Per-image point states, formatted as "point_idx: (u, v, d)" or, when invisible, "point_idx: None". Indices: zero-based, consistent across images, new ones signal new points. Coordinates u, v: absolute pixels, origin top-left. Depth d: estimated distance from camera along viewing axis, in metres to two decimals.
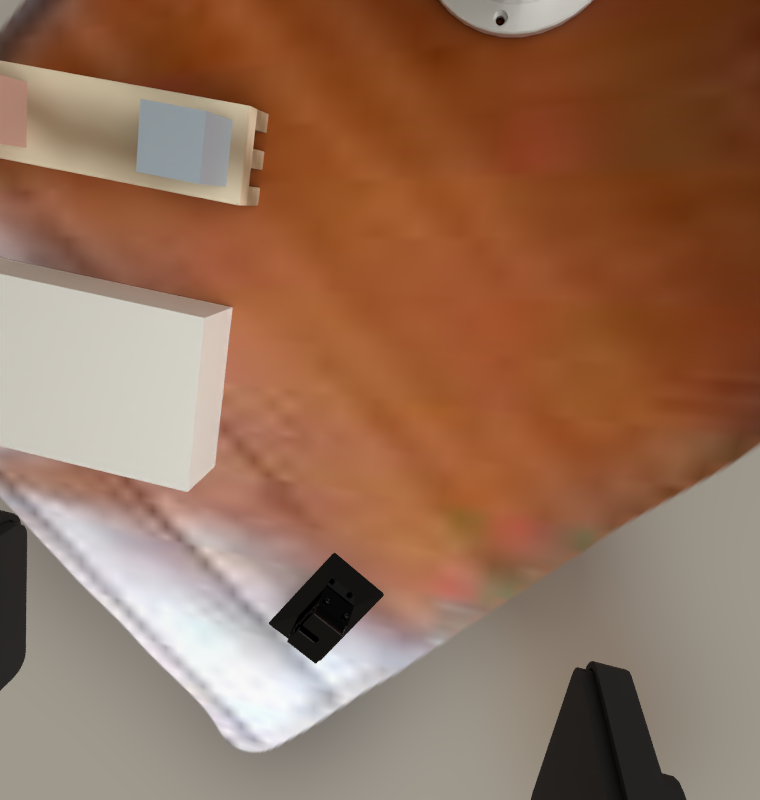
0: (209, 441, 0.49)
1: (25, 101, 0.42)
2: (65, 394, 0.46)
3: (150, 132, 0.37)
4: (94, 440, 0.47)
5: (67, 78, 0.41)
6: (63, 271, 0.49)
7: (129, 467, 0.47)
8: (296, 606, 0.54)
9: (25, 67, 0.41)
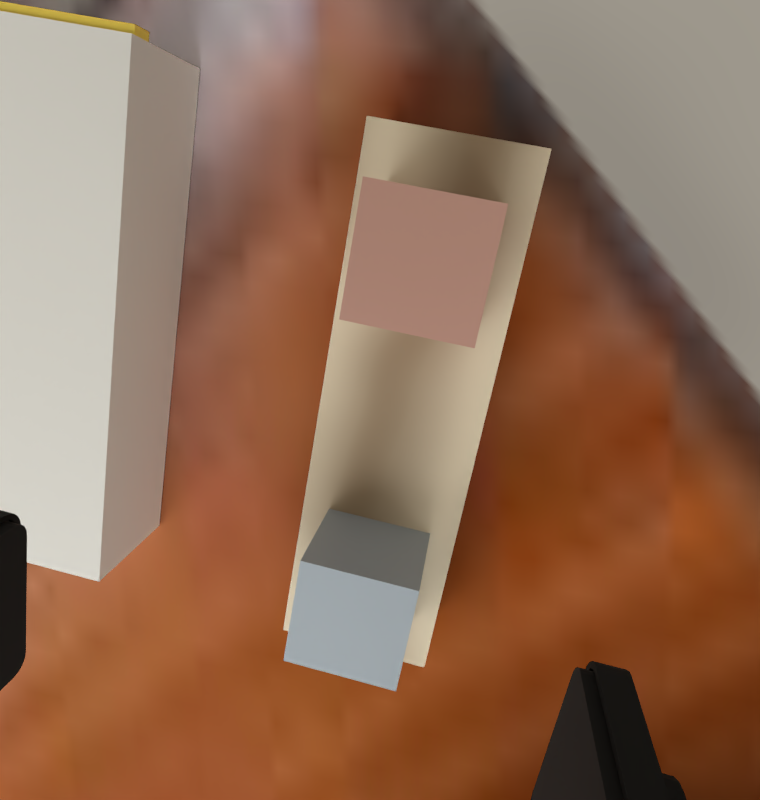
0: None
1: None
2: None
3: (364, 597, 0.21)
4: None
5: (484, 381, 0.23)
6: (183, 240, 0.27)
7: None
8: None
9: (510, 300, 0.22)
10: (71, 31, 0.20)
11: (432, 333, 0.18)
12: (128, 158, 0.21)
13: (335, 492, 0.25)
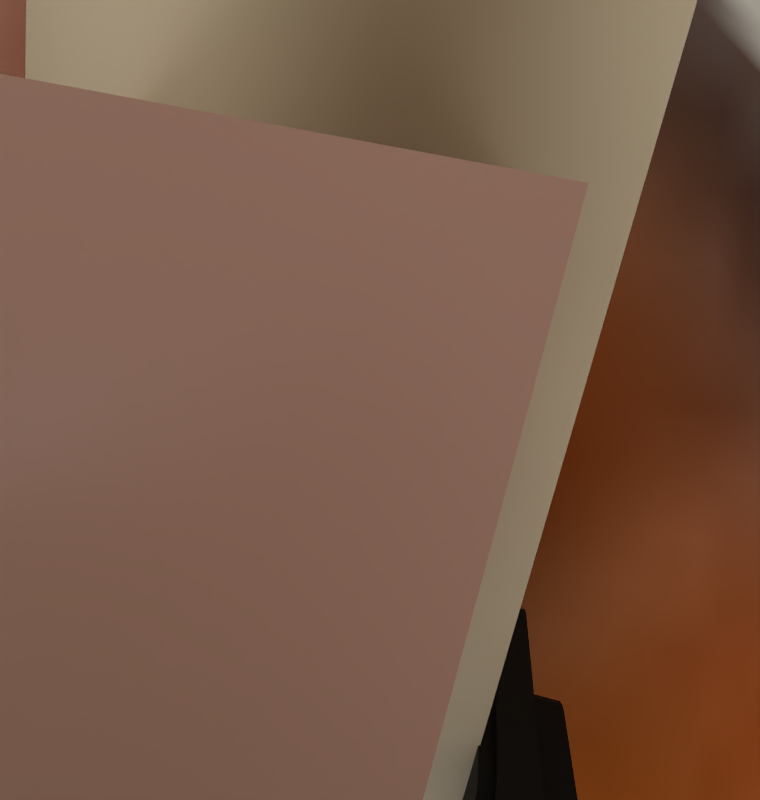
0: None
1: None
2: None
3: None
4: None
5: (464, 694, 0.08)
6: None
7: None
8: None
9: (546, 470, 0.07)
10: None
11: None
12: None
13: None
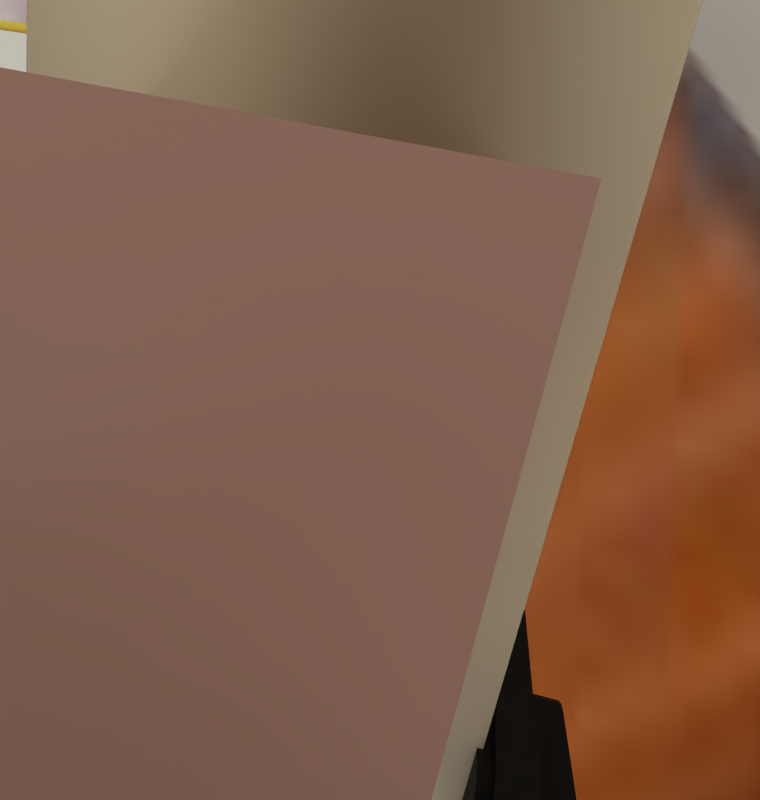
0: None
1: None
2: None
3: None
4: None
5: (467, 696, 0.07)
6: None
7: None
8: None
9: (550, 471, 0.07)
10: None
11: None
12: None
13: None
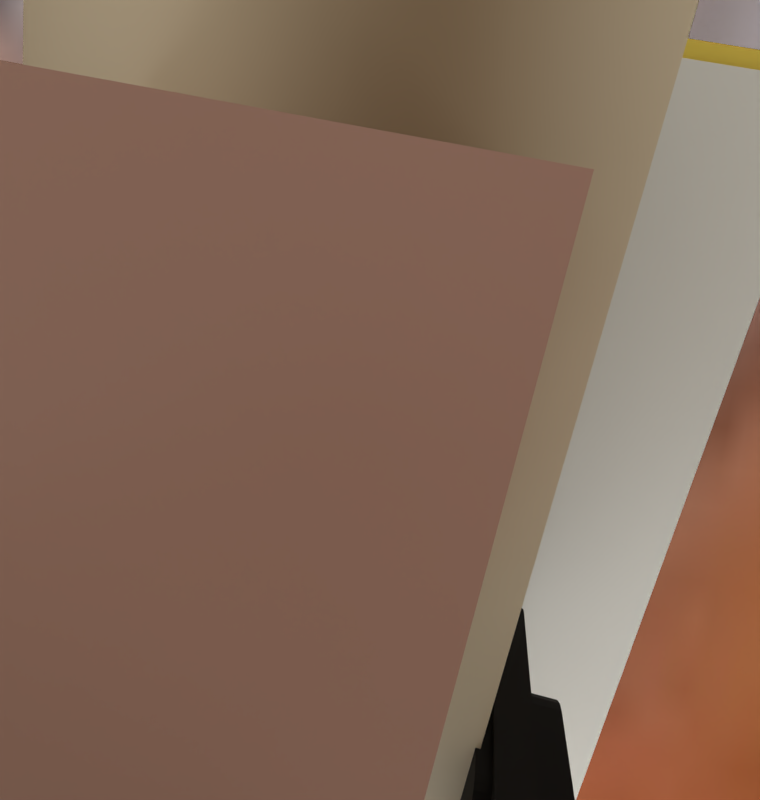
0: None
1: None
2: None
3: None
4: None
5: (465, 694, 0.07)
6: None
7: None
8: None
9: (547, 468, 0.07)
10: (691, 77, 0.10)
11: None
12: (743, 323, 0.11)
13: None
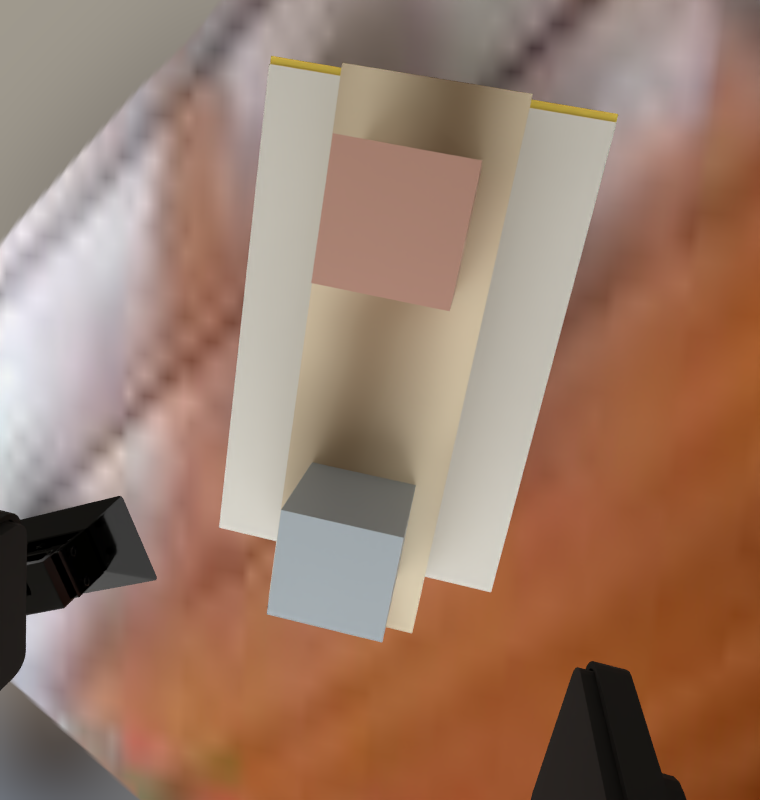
0: None
1: None
2: None
3: (347, 546, 0.21)
4: (285, 391, 0.28)
5: (467, 339, 0.22)
6: None
7: (246, 442, 0.29)
8: (33, 529, 0.38)
9: (492, 254, 0.21)
10: (557, 119, 0.23)
11: (406, 296, 0.18)
12: (587, 226, 0.24)
13: (318, 456, 0.24)
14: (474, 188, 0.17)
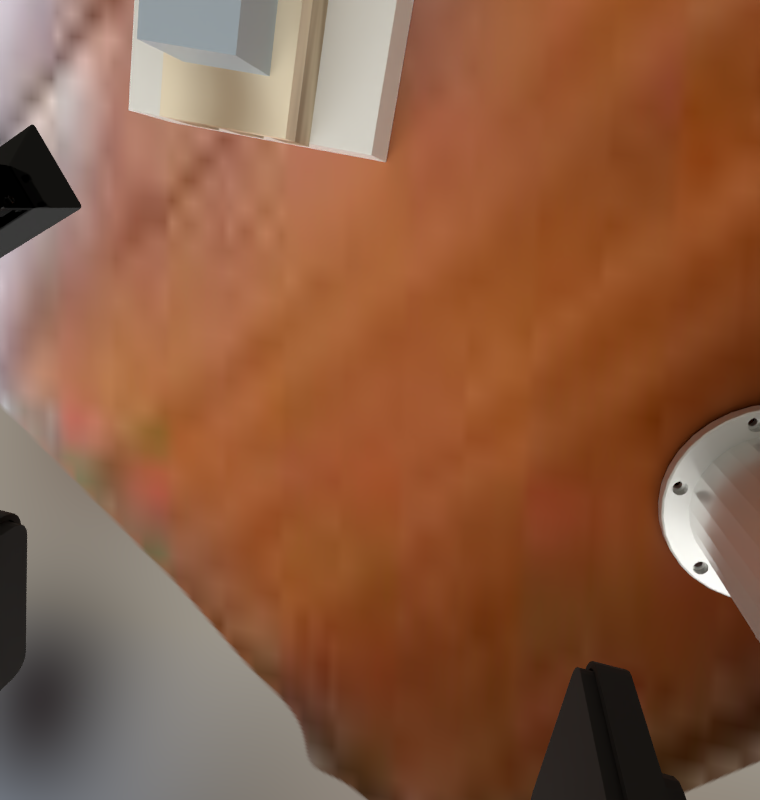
0: None
1: None
2: None
3: None
4: None
5: None
6: None
7: None
8: None
9: None
10: None
11: None
12: None
13: None
14: None
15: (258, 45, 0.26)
